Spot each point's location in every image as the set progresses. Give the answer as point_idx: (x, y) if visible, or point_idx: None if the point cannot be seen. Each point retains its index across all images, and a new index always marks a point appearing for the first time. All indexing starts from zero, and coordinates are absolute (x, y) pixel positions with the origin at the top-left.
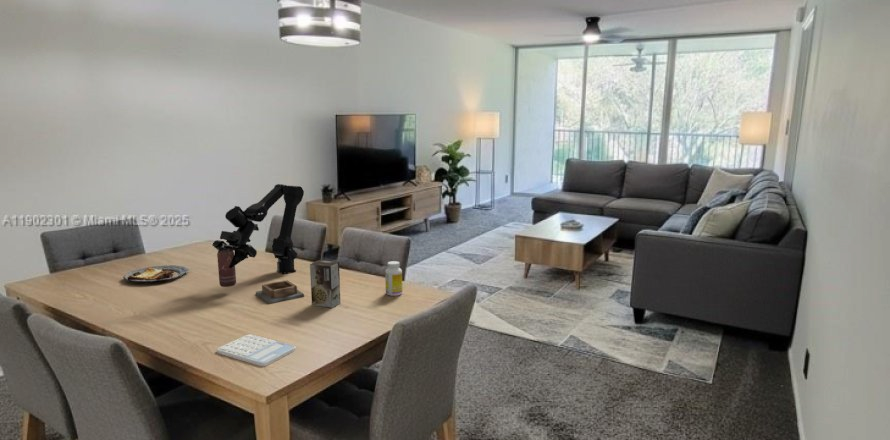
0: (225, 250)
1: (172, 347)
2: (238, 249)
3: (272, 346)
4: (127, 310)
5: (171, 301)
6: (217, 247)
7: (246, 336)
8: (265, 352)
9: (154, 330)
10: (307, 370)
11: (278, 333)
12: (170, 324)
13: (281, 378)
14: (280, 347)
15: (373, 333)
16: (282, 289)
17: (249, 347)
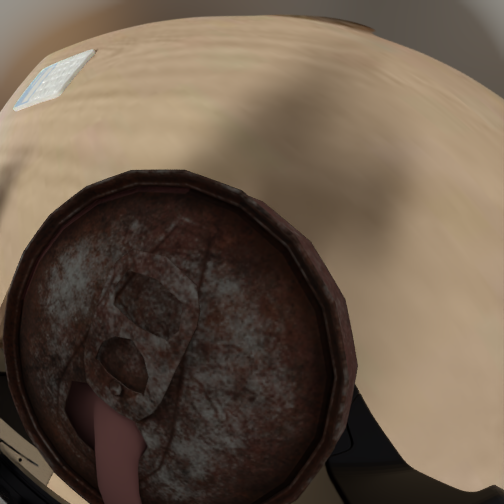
0: (204, 475)
1: (163, 27)
2: (26, 489)
3: (32, 93)
4: (425, 91)
5: (401, 163)
6: (497, 489)
7: (59, 84)
8: (40, 80)
9: (245, 33)
10: (14, 93)
11: (25, 128)
12: (235, 52)
13: (33, 72)
14: (25, 96)
15: None
16: (3, 301)
17: (55, 73)
